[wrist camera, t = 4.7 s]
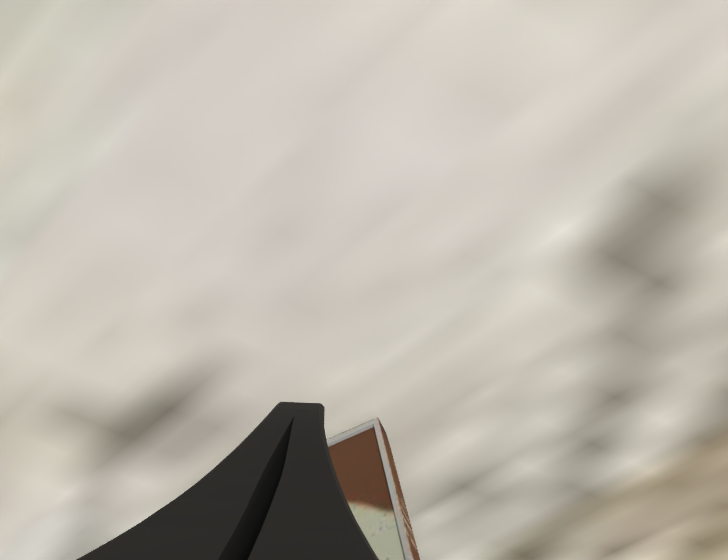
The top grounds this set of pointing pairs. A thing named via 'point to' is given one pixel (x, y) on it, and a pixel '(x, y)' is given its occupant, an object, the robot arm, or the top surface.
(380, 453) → the food container
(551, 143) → the top surface
